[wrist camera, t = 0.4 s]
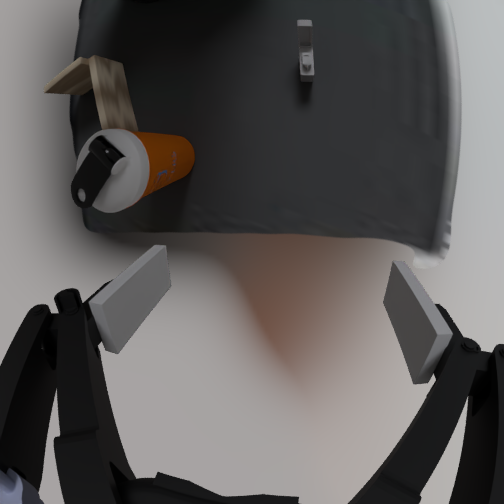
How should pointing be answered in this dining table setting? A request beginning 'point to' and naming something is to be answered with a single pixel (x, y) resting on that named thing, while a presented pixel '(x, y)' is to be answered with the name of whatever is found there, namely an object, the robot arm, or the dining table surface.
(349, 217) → the dining table surface
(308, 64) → the lighter
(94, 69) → the bookend
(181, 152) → the shaker bottle
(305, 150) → the dining table surface
